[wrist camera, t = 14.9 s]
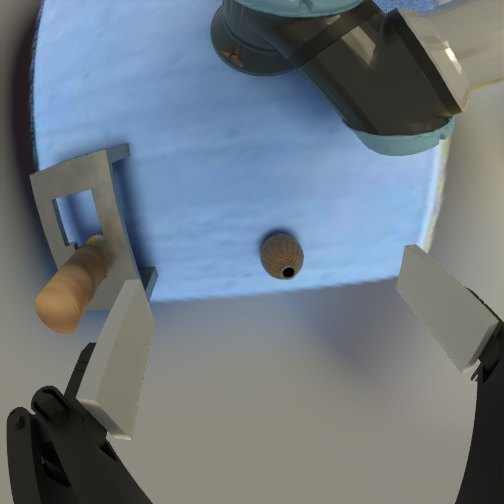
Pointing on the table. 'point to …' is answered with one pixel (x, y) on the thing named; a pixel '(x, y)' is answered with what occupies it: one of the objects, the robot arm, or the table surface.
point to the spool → (72, 288)
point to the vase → (282, 256)
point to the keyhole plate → (109, 213)
